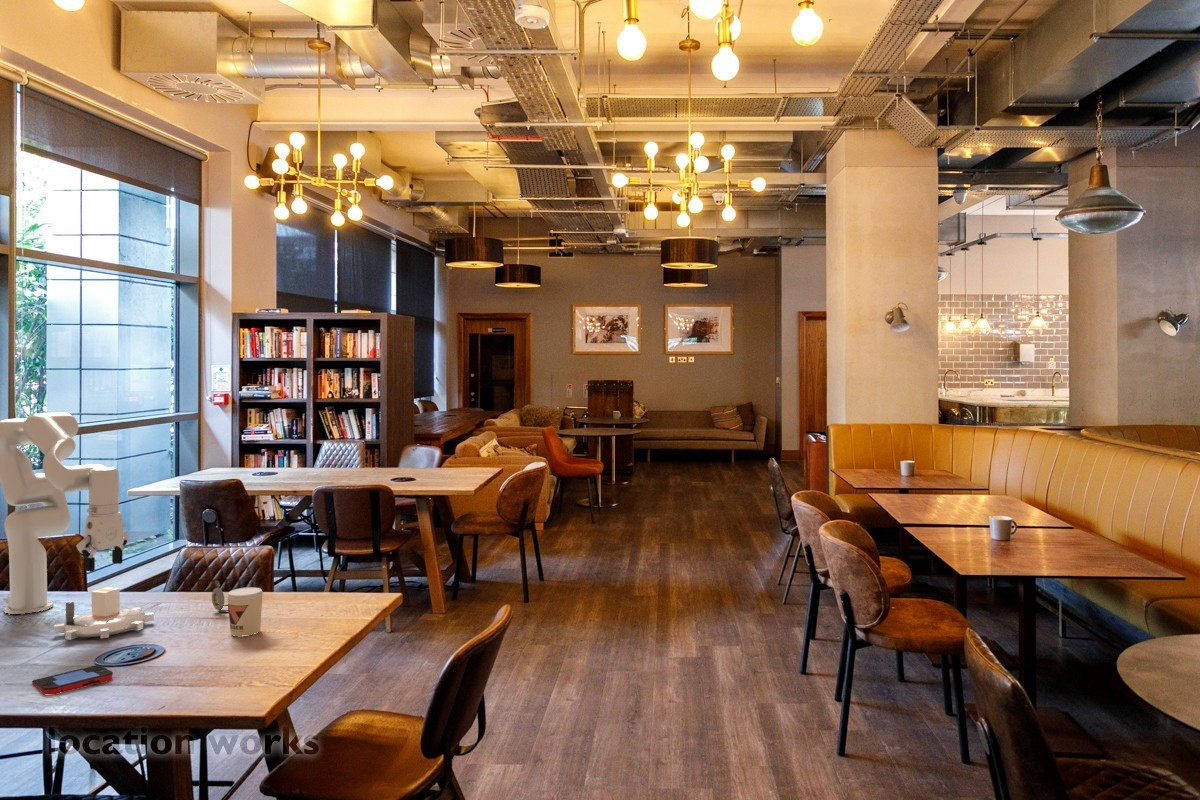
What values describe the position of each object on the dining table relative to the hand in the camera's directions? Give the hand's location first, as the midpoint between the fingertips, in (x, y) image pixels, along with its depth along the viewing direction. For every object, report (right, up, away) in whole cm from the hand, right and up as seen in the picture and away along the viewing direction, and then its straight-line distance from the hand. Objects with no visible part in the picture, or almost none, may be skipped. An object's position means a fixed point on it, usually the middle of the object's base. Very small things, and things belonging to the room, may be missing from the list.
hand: (103, 566), depth 240 cm
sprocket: (+4, -17, -5) cm, 18 cm away
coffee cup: (+45, -18, -8) cm, 49 cm away
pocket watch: (+29, -17, +14) cm, 37 cm away
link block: (+1, -14, 0) cm, 14 cm away
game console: (+20, -19, -44) cm, 52 cm away
